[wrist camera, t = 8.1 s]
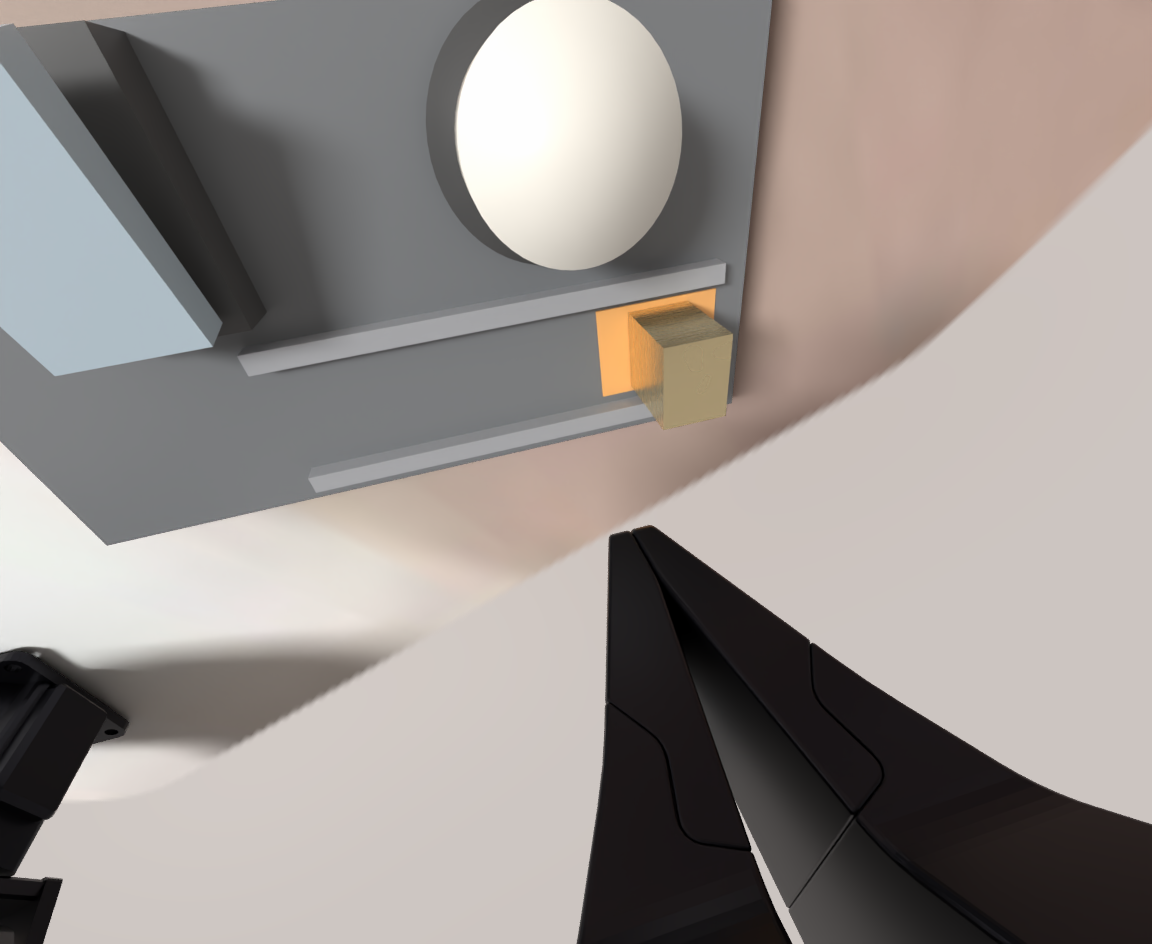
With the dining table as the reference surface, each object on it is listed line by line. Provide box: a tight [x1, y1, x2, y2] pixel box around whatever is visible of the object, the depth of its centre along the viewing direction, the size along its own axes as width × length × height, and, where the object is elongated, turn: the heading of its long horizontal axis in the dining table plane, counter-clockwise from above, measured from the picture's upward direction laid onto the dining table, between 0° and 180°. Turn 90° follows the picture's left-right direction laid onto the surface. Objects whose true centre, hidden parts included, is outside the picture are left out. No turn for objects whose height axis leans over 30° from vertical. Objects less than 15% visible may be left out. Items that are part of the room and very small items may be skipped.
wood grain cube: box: [628, 301, 733, 430], centre depth 15 cm, size 2×3×3 cm
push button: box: [454, 0, 682, 270], centre depth 10 cm, size 4×4×2 cm
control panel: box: [0, 0, 772, 545], centre depth 13 cm, size 22×12×3 cm, turn 97°
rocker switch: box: [0, 23, 222, 376], centre depth 9 cm, size 3×5×1 cm, turn 7°
